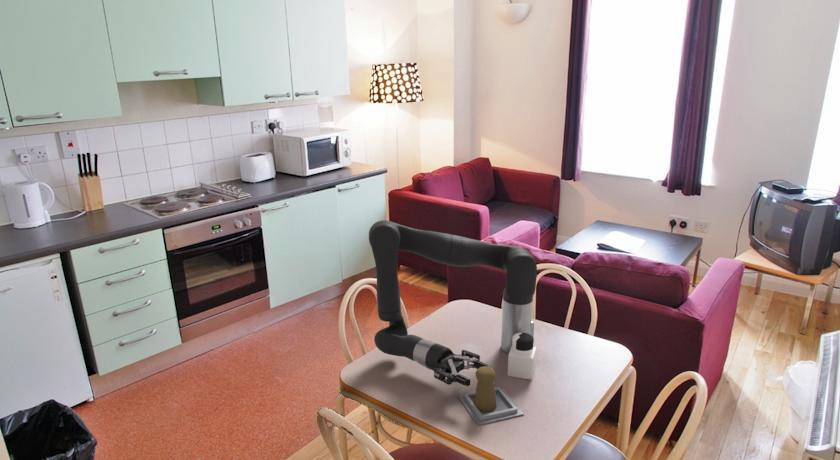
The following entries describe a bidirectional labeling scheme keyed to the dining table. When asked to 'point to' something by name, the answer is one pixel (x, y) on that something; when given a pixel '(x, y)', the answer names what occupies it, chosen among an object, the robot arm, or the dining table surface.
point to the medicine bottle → (522, 356)
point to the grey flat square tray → (502, 411)
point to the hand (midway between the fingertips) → (479, 375)
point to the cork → (485, 389)
